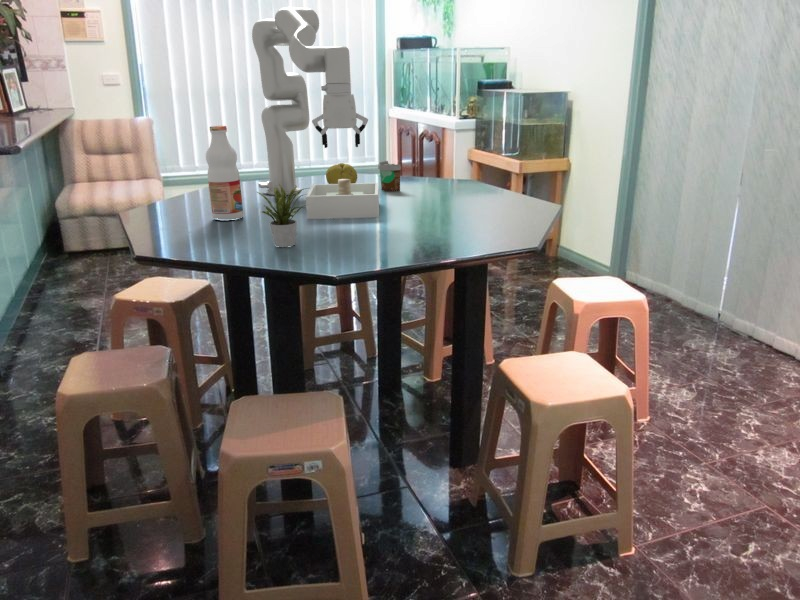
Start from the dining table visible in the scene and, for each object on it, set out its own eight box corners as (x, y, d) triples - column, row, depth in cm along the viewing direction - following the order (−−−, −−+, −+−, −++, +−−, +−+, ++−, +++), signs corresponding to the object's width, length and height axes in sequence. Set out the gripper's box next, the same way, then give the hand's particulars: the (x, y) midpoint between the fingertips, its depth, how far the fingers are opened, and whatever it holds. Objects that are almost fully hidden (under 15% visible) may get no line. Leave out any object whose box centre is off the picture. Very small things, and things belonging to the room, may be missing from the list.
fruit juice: (211, 217, 205) (200, 126, 196) (241, 214, 208) (232, 124, 199) (214, 223, 197) (202, 128, 187) (245, 220, 200) (236, 126, 190)
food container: (373, 188, 249) (372, 162, 246) (388, 186, 251) (387, 160, 248) (386, 193, 238) (385, 165, 235) (401, 191, 241) (401, 164, 237)
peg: (339, 212, 208) (337, 181, 204) (339, 209, 212) (338, 179, 208) (351, 212, 208) (350, 180, 205) (352, 209, 212) (350, 178, 208)
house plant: (328, 244, 169) (324, 181, 164) (286, 256, 160) (280, 189, 154) (293, 236, 178) (288, 177, 173) (251, 247, 169) (245, 184, 163)
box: (307, 219, 199) (305, 196, 197) (314, 205, 220) (312, 184, 217) (378, 217, 199) (378, 194, 197) (379, 203, 220) (378, 182, 218)
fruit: (329, 188, 252) (327, 161, 249) (359, 187, 251) (358, 161, 248) (325, 193, 241) (323, 166, 238) (356, 192, 241) (355, 165, 238)
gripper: (308, 90, 194) (312, 149, 199) (366, 89, 194) (368, 147, 200) (311, 90, 201) (315, 146, 206) (367, 88, 201) (369, 145, 207)
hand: (341, 147), depth 203 cm, fingers open, 9 cm apart
